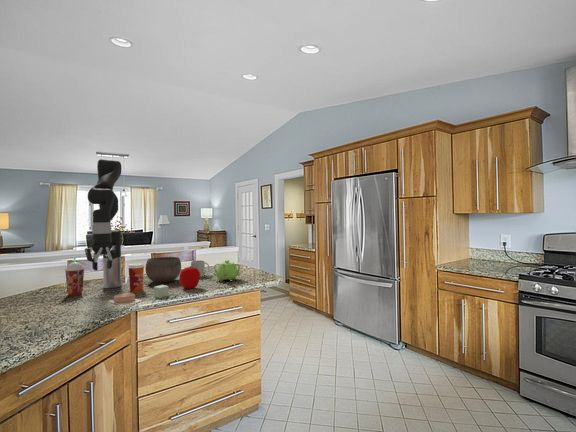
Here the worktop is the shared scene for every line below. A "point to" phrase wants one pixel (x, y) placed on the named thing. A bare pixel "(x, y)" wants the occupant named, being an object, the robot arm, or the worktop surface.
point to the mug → (200, 266)
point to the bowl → (163, 268)
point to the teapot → (227, 270)
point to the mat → (125, 303)
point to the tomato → (189, 277)
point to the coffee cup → (136, 277)
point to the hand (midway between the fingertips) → (102, 269)
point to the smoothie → (74, 278)
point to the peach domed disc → (124, 298)
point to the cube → (160, 291)
